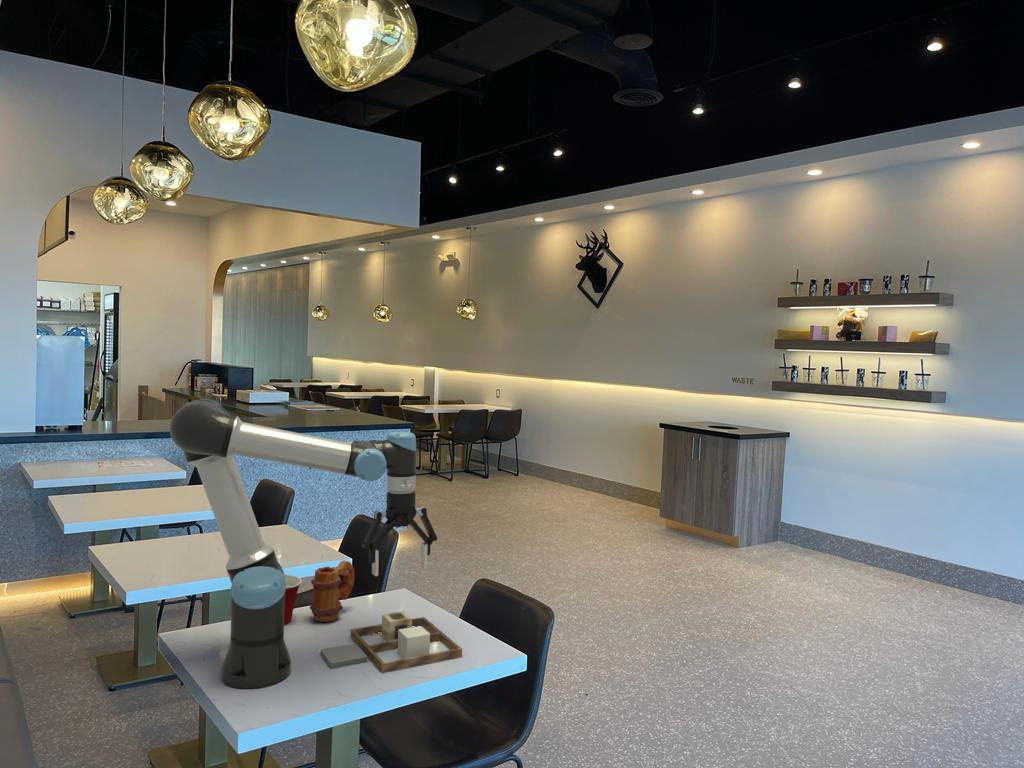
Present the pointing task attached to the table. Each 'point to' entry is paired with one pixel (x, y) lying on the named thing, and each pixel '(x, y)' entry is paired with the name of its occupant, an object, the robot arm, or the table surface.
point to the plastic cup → (290, 596)
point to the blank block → (413, 642)
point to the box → (388, 645)
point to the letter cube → (394, 624)
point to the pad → (343, 655)
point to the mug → (331, 590)
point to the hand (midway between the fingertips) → (399, 571)
